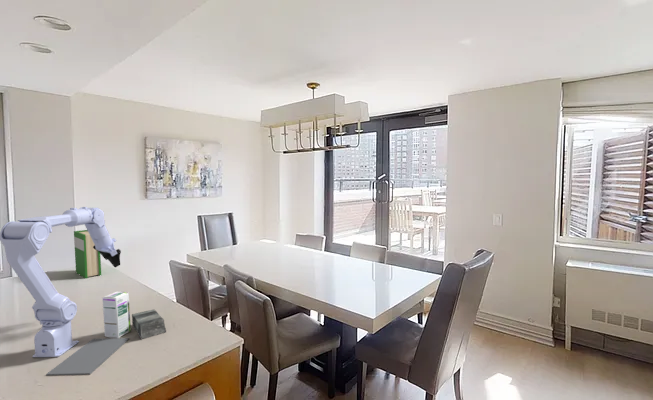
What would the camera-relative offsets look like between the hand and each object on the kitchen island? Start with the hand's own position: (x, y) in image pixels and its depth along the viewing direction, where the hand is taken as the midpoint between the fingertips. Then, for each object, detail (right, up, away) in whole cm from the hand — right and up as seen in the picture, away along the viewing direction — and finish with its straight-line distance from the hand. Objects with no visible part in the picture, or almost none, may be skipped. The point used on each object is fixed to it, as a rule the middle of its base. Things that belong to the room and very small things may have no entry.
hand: (112, 261), depth 135 cm
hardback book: (-50, -17, +56) cm, 77 cm away
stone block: (+21, -23, -11) cm, 33 cm away
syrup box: (+11, -23, -15) cm, 30 cm away
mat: (+12, -24, -30) cm, 40 cm away
